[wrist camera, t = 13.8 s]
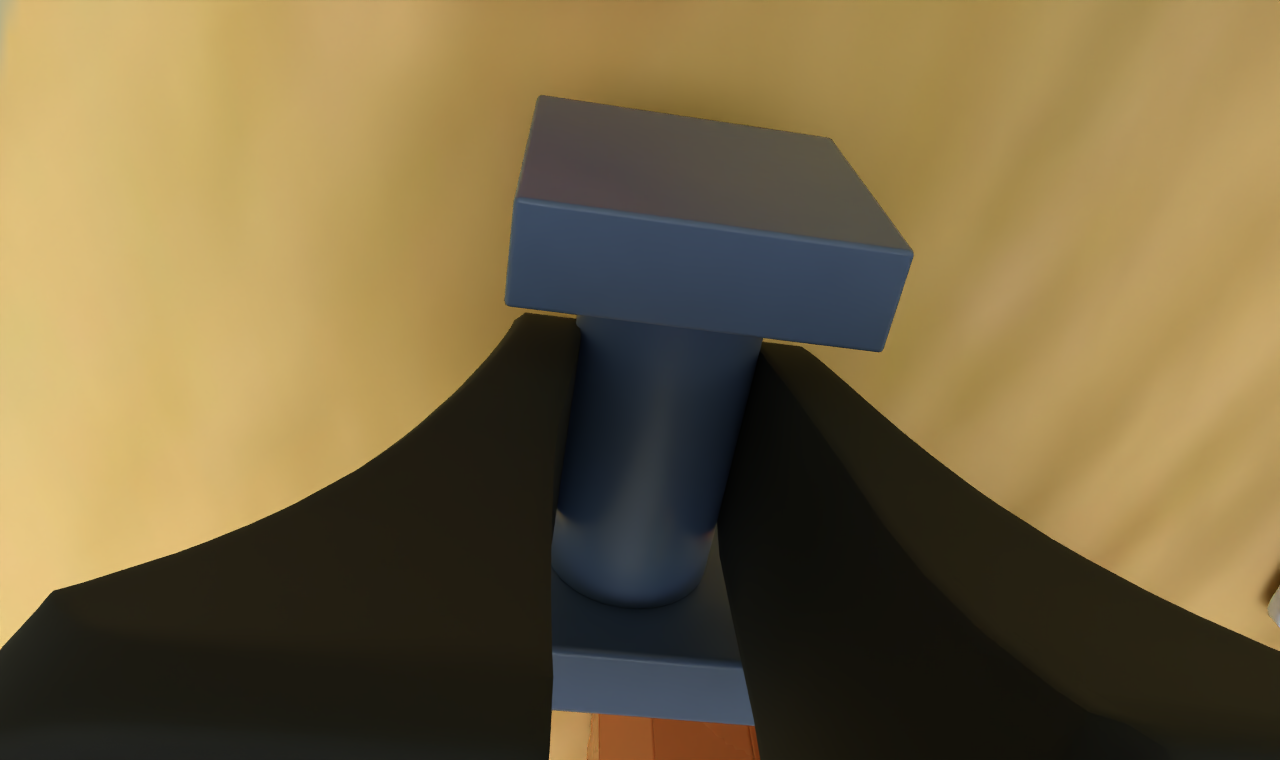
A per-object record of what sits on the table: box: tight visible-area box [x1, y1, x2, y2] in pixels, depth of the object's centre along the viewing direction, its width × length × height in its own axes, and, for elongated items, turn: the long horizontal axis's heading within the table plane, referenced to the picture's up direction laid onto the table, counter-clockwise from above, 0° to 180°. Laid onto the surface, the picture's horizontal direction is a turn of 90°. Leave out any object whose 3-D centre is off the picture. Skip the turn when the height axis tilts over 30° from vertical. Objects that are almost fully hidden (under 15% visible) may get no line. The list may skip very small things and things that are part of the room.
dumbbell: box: [504, 95, 914, 726], centre depth 11 cm, size 6×3×3 cm, turn 171°
